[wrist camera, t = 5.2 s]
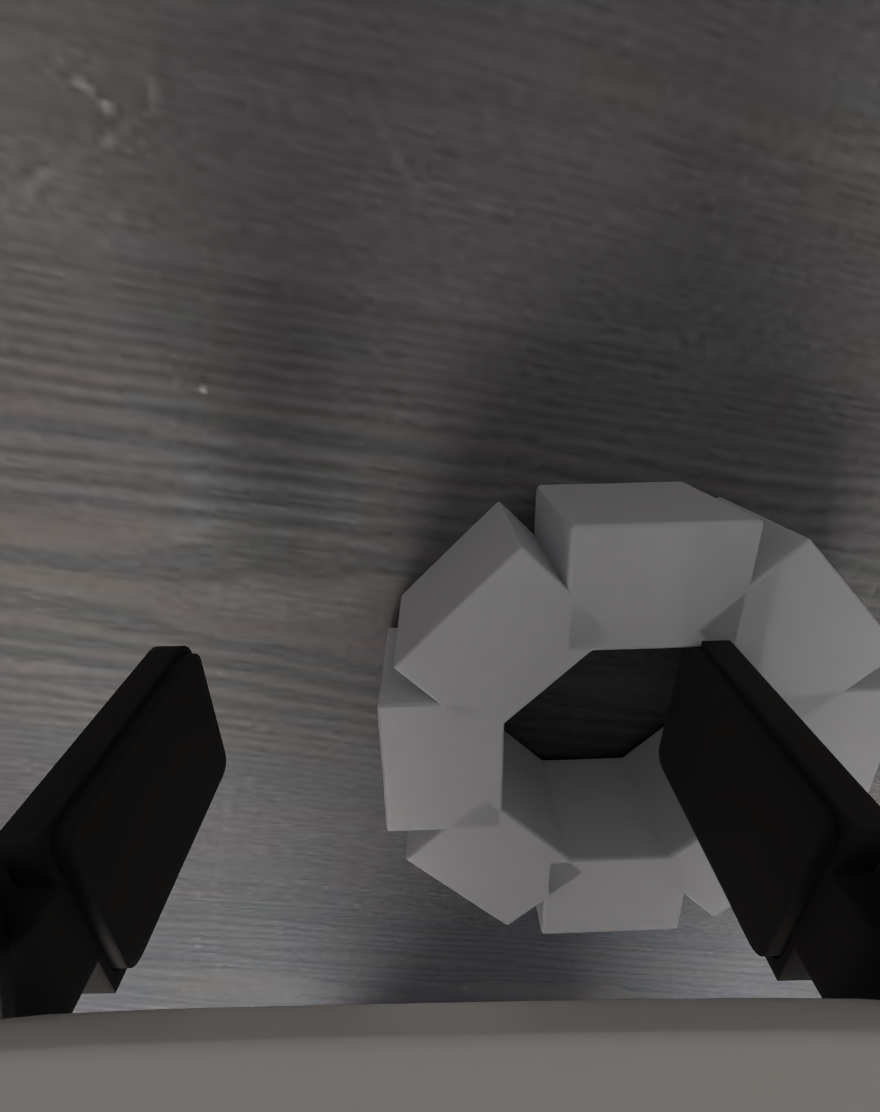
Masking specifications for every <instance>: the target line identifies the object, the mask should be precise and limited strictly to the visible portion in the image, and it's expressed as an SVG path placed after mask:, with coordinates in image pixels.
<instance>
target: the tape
mask: <svg viewBox="0 0 880 1112" xmlns="http://www.w3.org/2000/svg"><path fill="white" fill-rule="evenodd" d="M717 640H730V641H731V642H732V643H733V644H734V645H735V646H736V647H737V648H738V649H739V650H740V652H741V653H742V654H743V655H744V656H745V657H746V658H747V659H748V660H749V662H750V663H751V664H752V665H753V666H754V667H755V668H756V669H757V670H758V672H759V673H760V674H761V675H762V676H763V677H764V678H765V679H766V680H767V682H768V683H769V684H770V685H771V686H772V687H773V688H774V689H775V690H776V692H777V693H778V694H779V695H780V696H781V697H782V698H783V699H784V700H785V702H786V703H787V704H788V705H789V706H790V707H791V708H792V709H793V710H794V712H795V713H796V714H797V715H798V716H799V717H800V718H801V719H802V720H803V722H804V723H805V724H806V725H807V726H808V727H809V728H810V729H811V730H812V732H813V733H814V734H815V735H816V736H817V737H818V738H819V739H820V740H821V742H822V743H823V744H824V745H825V746H826V747H827V748H828V749H829V750H830V752H831V753H832V754H833V755H834V756H835V757H836V758H837V759H838V760H839V762H840V763H841V764H842V765H843V766H844V767H845V768H846V769H847V770H848V772H849V773H850V774H851V775H852V776H853V777H854V778H855V779H856V780H857V782H858V783H859V784H860V785H861V786H862V787H863V788H864V789H865V790H866V792H867V793H869V790H870V787H871V785H872V782H873V779H874V776H875V774H876V771H877V768H878V765H879V763H880V670H879V669H877V668H878V667H880V624H879V623H878V621H877V620H876V619H875V618H874V617H873V615H872V614H871V613H870V612H869V610H868V609H867V608H866V607H865V606H864V604H863V603H862V602H861V601H860V599H859V598H858V597H857V596H856V595H855V593H854V592H853V591H852V590H851V588H850V587H849V586H848V585H847V584H846V582H845V581H844V580H843V579H842V577H841V576H840V575H839V574H838V573H837V571H836V570H835V569H834V568H833V566H832V565H831V564H830V563H829V562H828V560H827V559H826V558H825V557H824V555H823V554H822V553H821V552H820V551H819V549H818V548H817V547H816V546H815V545H814V543H813V542H812V541H811V540H810V539H809V538H806V537H804V536H802V535H800V534H798V533H796V532H794V531H792V530H789V529H787V528H785V527H783V526H781V525H779V524H777V523H774V522H772V521H770V520H768V519H766V518H764V517H762V516H760V515H757V514H755V513H753V512H751V511H749V510H747V509H745V508H743V507H740V506H738V505H736V504H734V503H732V502H730V501H728V500H726V499H723V498H721V497H717V498H715V497H712V496H710V495H708V494H706V493H704V492H702V491H700V490H698V489H696V488H694V487H692V486H690V485H688V484H685V483H683V482H643V483H601V484H559V485H540V486H538V487H537V489H536V506H535V525H534V534H533V533H532V532H531V531H530V530H529V529H528V528H527V527H526V526H525V525H524V524H523V523H521V522H520V521H519V520H518V519H517V518H516V517H515V516H514V515H513V514H512V513H511V512H510V511H509V510H508V509H507V508H506V507H505V506H504V505H503V504H502V503H501V502H497V503H496V504H495V505H494V506H493V507H492V508H491V509H490V510H489V511H488V512H487V513H486V514H485V515H484V516H483V517H481V518H480V519H479V520H478V521H477V522H476V523H475V524H474V525H473V526H472V527H471V528H470V529H469V530H468V531H467V532H466V533H465V534H464V535H463V536H462V537H461V538H460V539H459V540H458V541H457V542H456V543H455V544H454V545H453V546H452V547H451V548H450V549H449V550H447V551H446V552H445V553H444V554H443V555H442V556H441V557H440V558H439V559H438V560H437V561H436V562H435V563H434V564H433V565H432V566H431V567H430V568H429V569H428V570H427V571H426V572H425V573H424V574H423V575H422V576H421V577H420V578H419V579H418V580H417V581H416V582H415V583H414V584H413V585H412V586H411V587H410V588H409V589H408V590H407V591H406V592H405V593H404V594H403V595H402V596H401V602H400V611H399V620H398V628H389V629H388V634H387V641H386V648H385V655H384V662H383V669H382V676H381V682H380V689H379V696H378V703H377V712H378V725H379V737H380V750H381V762H382V775H383V788H384V800H385V813H386V825H387V830H388V831H407V845H406V859H407V860H408V861H409V862H411V863H412V864H414V865H415V866H417V867H418V868H420V869H422V870H423V871H425V872H426V873H428V874H429V875H431V876H432V877H434V878H435V879H437V880H438V881H440V882H441V883H443V884H444V885H446V886H448V887H449V888H451V889H452V890H454V891H455V892H457V893H458V894H460V895H461V896H463V897H464V898H466V899H467V900H469V901H471V902H472V903H474V904H475V905H477V906H478V907H480V908H481V909H483V910H484V911H486V912H487V913H489V914H490V915H492V916H493V917H495V918H497V919H498V920H500V921H501V922H503V923H504V924H506V925H508V924H510V923H512V922H513V921H514V920H516V919H517V918H519V917H520V916H522V915H523V914H525V913H526V912H527V911H529V910H530V909H532V908H533V907H535V906H536V908H537V913H538V918H539V923H540V928H541V931H542V933H543V934H555V933H580V932H606V931H632V930H657V929H675V928H677V925H678V921H679V916H680V912H681V907H682V902H683V898H684V894H685V895H687V896H688V897H689V898H691V899H692V900H693V901H694V902H696V903H697V904H698V905H700V906H701V907H702V908H703V909H705V910H706V911H707V912H708V913H710V914H711V915H712V916H717V915H718V914H720V913H722V912H723V911H725V910H726V909H728V908H730V907H731V905H730V903H729V901H728V899H727V897H726V895H725V893H724V891H723V889H722V887H721V885H720V883H719V881H718V879H717V877H716V875H715V873H714V871H713V869H712V867H711V865H710V863H709V861H708V859H707V857H706V855H705V853H704V851H703V849H702V847H701V845H700V843H699V841H698V839H697V837H696V835H695V833H694V831H693V829H692V827H691V825H690V823H689V821H688V819H687V817H686V815H685V813H684V811H683V809H682V807H681V805H680V803H679V801H678V799H677V797H676V795H675V793H674V791H673V789H672V787H671V785H670V783H669V781H668V779H667V777H666V775H665V773H664V771H663V769H662V767H661V764H660V761H659V745H660V741H661V737H662V733H663V729H664V727H663V728H661V729H660V730H659V731H657V732H656V733H655V734H653V735H652V736H651V737H649V738H648V739H647V740H645V741H644V742H643V743H641V744H640V745H639V746H637V747H636V748H635V749H633V750H632V751H631V752H629V753H628V754H627V755H625V756H624V757H623V758H602V759H573V760H543V761H542V760H541V759H539V758H538V757H537V756H536V755H534V754H533V753H532V752H531V751H529V750H528V749H527V748H526V747H524V746H523V745H522V744H521V743H519V742H518V741H517V740H516V739H514V738H513V737H512V736H510V735H509V734H508V733H507V732H505V731H504V723H505V722H506V721H508V720H509V719H510V718H511V717H512V716H514V715H515V714H516V713H517V712H518V711H520V710H521V709H522V708H523V707H524V706H526V705H527V704H528V703H529V702H530V701H532V700H533V699H534V698H535V697H536V696H538V695H539V694H540V693H541V692H542V691H544V690H545V689H546V688H547V687H548V686H550V685H551V684H552V683H553V682H554V681H556V680H557V679H558V678H559V677H560V676H562V675H563V674H564V673H565V672H566V671H568V670H569V669H570V668H571V667H572V666H574V665H575V664H576V663H577V662H579V661H580V660H581V659H582V658H583V657H585V656H586V655H587V654H588V653H589V652H591V651H592V650H617V649H649V648H681V647H702V646H701V643H702V641H717Z"/></svg>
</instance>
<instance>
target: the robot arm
mask: <svg viewBox="0 0 880 1112" xmlns="http://www.w3.org/2000/svg"><path fill="white" fill-rule="evenodd" d="M701 646H702V647H685V648H684V649H683V651H682V654H681V658H680V662H679V666H678V670H677V675H676V679H675V683H674V687H673V691H672V695H671V700H670V704H669V708H668V712H667V716H666V720H665V724H664V729H663V733H662V737H661V741H660V745H659V761H660V764H661V767H662V769H663V771H664V773H665V775H666V777H667V779H668V781H669V783H670V785H671V787H672V789H673V791H674V793H675V795H676V797H677V799H678V801H679V803H680V805H681V807H682V809H683V811H684V813H685V815H686V817H687V819H688V821H689V823H690V825H691V827H692V829H693V831H694V833H695V835H696V837H697V839H698V841H699V843H700V845H701V847H702V849H703V851H704V853H705V855H706V857H707V859H708V861H709V863H710V865H711V867H712V869H713V871H714V873H715V875H716V877H717V879H718V881H719V883H720V885H721V887H722V889H723V891H724V893H725V895H726V897H727V899H728V901H729V903H730V905H731V907H732V909H733V911H734V913H735V915H736V917H737V919H738V921H739V923H740V925H741V927H742V929H743V931H744V933H745V935H746V937H747V939H748V941H749V943H750V945H751V947H752V948H753V950H754V951H755V952H756V953H757V954H758V955H759V956H765V957H766V959H767V961H768V963H769V965H770V967H771V969H772V971H773V973H774V975H775V977H776V979H777V981H784V980H812V981H813V983H814V984H815V986H816V988H817V990H818V992H819V993H820V995H821V997H822V998H699V999H625V1000H555V1001H501V1002H448V1003H398V1004H349V1005H308V1006H269V1007H229V1008H189V1009H156V1010H134V1011H112V1012H90V1013H72V1012H73V1010H74V1008H75V1006H76V1004H77V1002H78V1000H79V998H80V996H81V994H90V993H116V991H117V989H118V987H119V984H120V982H121V980H122V978H123V976H124V974H125V971H126V969H127V968H132V967H134V966H135V965H136V964H137V963H138V961H139V960H140V958H141V956H142V954H143V952H144V950H145V948H146V946H147V943H148V941H149V939H150V937H151V934H152V932H153V930H154V928H155V926H156V923H157V921H158V919H159V917H160V914H161V912H162V910H163V908H164V906H165V903H166V901H167V899H168V897H169V894H170V892H171V890H172V888H173V886H174V883H175V881H176V879H177V877H178V874H179V872H180V870H181V868H182V866H183V863H184V861H185V859H186V857H187V854H188V852H189V850H190V848H191V846H192V843H193V841H194V839H195V837H196V834H197V832H198V830H199V828H200V826H201V823H202V821H203V819H204V817H205V814H206V812H207V810H208V808H209V806H210V803H211V801H212V799H213V797H214V794H215V792H216V790H217V788H218V786H219V783H220V781H221V779H222V777H223V774H224V771H225V766H226V755H225V750H224V746H223V743H222V739H221V735H220V731H219V727H218V723H217V720H216V716H215V712H214V708H213V704H212V700H211V697H210V693H209V689H208V685H207V681H206V677H205V673H204V670H203V666H202V662H201V659H200V656H199V655H198V654H192V652H191V650H190V649H189V648H188V647H186V646H157V647H153V648H152V649H151V650H150V651H149V652H148V653H147V655H146V656H145V657H144V658H143V659H142V661H141V662H140V663H139V664H138V665H137V667H136V668H135V669H134V670H133V671H132V673H131V674H130V675H129V676H128V677H127V679H126V680H125V681H124V682H123V684H122V685H121V686H120V687H119V688H118V690H117V691H116V692H115V693H114V694H113V696H112V697H111V698H110V699H109V700H108V702H107V703H106V704H105V705H104V706H103V708H102V709H101V710H100V711H99V712H98V714H97V715H96V716H95V717H94V718H93V720H92V721H91V722H90V723H89V725H88V726H87V727H86V728H85V729H84V731H83V732H82V733H81V734H80V735H79V737H78V738H77V739H76V740H75V741H74V743H73V744H72V745H71V746H70V747H69V749H68V750H67V751H66V752H65V753H64V755H63V756H62V757H61V758H60V759H59V761H58V762H57V763H56V764H55V766H54V767H53V768H52V769H51V770H50V772H49V773H48V774H47V775H46V776H45V778H44V779H43V780H42V781H41V782H40V784H39V785H38V786H37V787H36V788H35V790H34V791H33V792H32V793H31V794H30V796H29V797H28V798H27V799H26V801H25V802H24V803H23V804H22V805H21V807H20V808H19V809H18V810H17V811H16V813H15V814H14V815H13V816H12V817H11V819H10V820H9V821H8V822H7V823H6V825H5V826H4V827H3V828H2V829H1V831H0V1112H880V806H879V805H878V804H877V803H876V802H875V800H874V799H873V798H872V797H871V796H870V795H869V794H868V793H867V792H866V790H865V789H864V788H863V787H862V786H861V785H860V784H859V783H858V782H857V780H856V779H855V778H854V777H853V776H852V775H851V774H850V773H849V772H848V770H847V769H846V768H845V767H844V766H843V765H842V764H841V763H840V762H839V760H838V759H837V758H836V757H835V756H834V755H833V754H832V753H831V752H830V750H829V749H828V748H827V747H826V746H825V745H824V744H823V743H822V742H821V740H820V739H819V738H818V737H817V736H816V735H815V734H814V733H813V732H812V730H811V729H810V728H809V727H808V726H807V725H806V724H805V723H804V722H803V720H802V719H801V718H800V717H799V716H798V715H797V714H796V713H795V712H794V710H793V709H792V708H791V707H790V706H789V705H788V704H787V703H786V702H785V700H784V699H783V698H782V697H781V696H780V695H779V694H778V693H777V692H776V690H775V689H774V688H773V687H772V686H771V685H770V684H769V683H768V682H767V680H766V679H765V678H764V677H763V676H762V675H761V674H760V673H759V672H758V670H757V669H756V668H755V667H754V666H753V665H752V664H751V663H750V662H749V660H748V659H747V658H746V657H745V656H744V655H743V654H742V653H741V652H740V650H739V649H738V648H737V647H736V646H735V645H734V644H733V643H732V642H731V641H730V640H717V641H702V643H701Z"/></svg>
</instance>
